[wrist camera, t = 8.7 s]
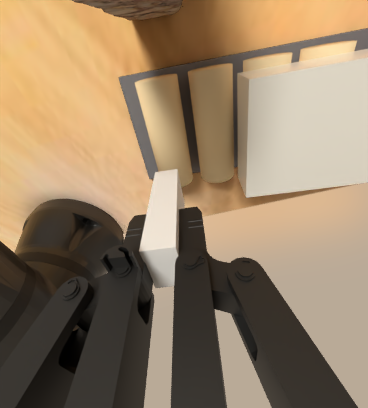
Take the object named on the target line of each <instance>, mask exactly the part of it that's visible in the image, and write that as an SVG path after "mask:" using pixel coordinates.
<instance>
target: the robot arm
mask: <svg viewBox="0 0 368 408" xmlns="http://www.w3.org/2000/svg"><path fill="white" fill-rule="evenodd" d="M107 271H108V273H107ZM153 283H154V286H155V287H156V288H161V287H170V286H174V318H173V351H172V353H173V354H172V386H171V387H172V388H171V408H227V405H226V397H225V388H224V380H223V373H222V365H221V357H220V349H219V341H218V334H217V325H216V318H215V310H214V309H216V310H221V311H224V312H228V313H231V314H232V317H233V319H234V322H235V324H236V326H237V328H238V331H239V333H240V335H241V338H242V340H243V342H244V345H245V347H246V349H247V352H248V354H249V356H250V359H251V361H252V363H253V365H254V368H255V370H256V372H257V375H258V377H259V379H260V382H261V384H262V386H263V388H264V391H265V393H266V395H267V398H268V400H269V402H270V404H271V406H272V408H358V407H357V405H356V404H355V402H354V401H353V400H352V398H351V397H350V395H349V394H348V392H347V391H346V390H345V388H344V386H343V385H342V384H341V382H340V381H339V379H338V378H337V376H336V375H335V373H334V372H333V370H332V369H331V367H330V366H329V364H328V363H327V362H326V360H325V359H324V357H323V356H322V354H321V353H320V351H319V350H318V348H317V347H316V345H315V344H314V343H313V341H312V340H311V338H310V337H309V335H308V334H307V332H306V331H305V329H304V328H303V326H302V325H301V323H300V322H299V320H298V319H297V318H296V316H295V315H294V313H293V312H292V310H291V309H290V307H289V306H288V304H287V303H286V301H285V300H284V299H283V297H282V296H281V294H280V293H279V291H278V290H277V288H276V287H275V285H274V284H273V283H272V281H271V279H270V278H269V277H268V275H267V274H266V272H265V271H264V269H263V268H262V267H261V266H260V264H259V263H258V262H256V261H254V260H252V259H250V258H244V257H243V258H237V259H235V260H233V261H231V263H226V262H221V261H217V260H215V259H213V258H212V257H211V256H210V255H209V254H208V252H207V249H206V241H205V233H204V226H203V219H202V212H201V211H200V210H199V209H198V207H192V208H184V198H183V193H182V188H181V183H180V178H179V173H178V169H173V170H166V171H160V172H155V175H154V180H153V185H152V190H151V195H150V200H149V205H148V210H147V214H145V215H137V216H134V217H133V219H132V220H131V221H130V222H129V226H128V229H127V233H126V237H125V239H124V237H123V233H122V231H121V229H120V227H119V225H118V224H117V223H116V221H115V220H114V219H113V218H112V217H111V216H109V215H108V214H107V213H105V212H104V211H102V210H101V209H99V208H97V207H95V206H93V205H90V204H88V203H85V202H81V201H77V200H71V199H56V200H51V201H47V202H45V203H43V204H41V205H39V206H38V207H37V208H36V209H35V210H34V211H33V212H32V213H31V214H30V216H29V217H28V218H27V220H26V221H25V223H24V227H23V232H22V235H21V237H20V239H19V242H18V245H17V247H16V250H15V253H14V252H13V251H11V250H10V249H9V248H8V247H7V246H5V245H4V244H3V243H2V242H1V241H0V408H143V407H144V398H145V397H144V396H145V388H146V377H147V368H148V358H149V348H150V338H151V328H152V317H153V308H154V295H153V293H152V285H153Z"/></svg>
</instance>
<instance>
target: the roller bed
mask: <svg viewBox="0 0 368 408" xmlns="http://www.w3.org/2000/svg"><path fill="white" fill-rule="evenodd" d="M364 49H368V28H366V29H361V30H356V31H351V32H345V33H340V34H335V35H330V36H325V37H320V38H315V39H310V40H305V41H300V42H295V43H290V44H284V45H279V46H274V47H269V48H264V49H259V50H254V51H249V52H244V53H239V54H234V55H229V56H223V57H218V58H213V59H208V60H203V61H198V62H193V63H188V64H183V65H178V66H173V67H168V68H163V69H157V70H152V71H147V72H142V73H137V74H132V75H127V76H122V77H119V81H120V84H121V88H122V91H123V94H124V97H125V101H126V104H127V107H128V110H129V114H130V117H131V120H132V123H133V127H134V130H135V133H136V136H137V140H138V143H139V146H140V149H141V153H142V156H143V159H144V162H145V166H146V169H147V172H148V176H149V179H154V175H155V172H160V171H166V170H173V169H178V173H179V178H180V183H181V187H184V186H186V185H188V184H189V183H191V182H192V180H193V174H192V173H197V172H201V178H202V179H203V180H204V181H206V182H210V183H221V182H225V181H228V180H230V179H231V178H232V177H233V176H234V167H238V108H237V73H241V72H246V71H251V70H257V69H262V68H267V67H273V66H278V65H284V64H289V63H294V62H300V61H305V60H310V59H316V58H321V57H326V56H332V55H337V54H342V53H348V52H353V51H358V50H364Z"/></svg>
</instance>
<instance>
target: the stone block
mask: <svg viewBox="0 0 368 408" xmlns="http://www.w3.org/2000/svg"><path fill="white" fill-rule="evenodd" d="M72 1H74V2H77V3H83V4H86V5H89V6H94V7H96V8H101V9H102V10H103V11H104V12H106V13H108V14H112V15H114V16H117V17H123V18H126V19H127V20H134V19H137V20H144V19H148V18H156V17H160V16H163V15H172V14H174V13H176V12H178V11H179V9H180V7H181V5H182V1H183V0H72ZM182 7H183V6H182Z"/></svg>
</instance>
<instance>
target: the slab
mask: <svg viewBox="0 0 368 408" xmlns="http://www.w3.org/2000/svg"><path fill="white" fill-rule="evenodd" d="M237 108H238V179H239V181H240V184H241V186H242V189H243V192H244V194H245V197H246V198H248V197H257V196H265V195H273V194H281V193H289V192H297V191H305V190H313V189H321V188H329V187H338V186H346V185H354V184H362V183H368V49H364V50H358V51H353V52H348V53H342V54H337V55H332V56H326V57H321V58H316V59H310V60H305V61H300V62H294V63H289V64H284V65H278V66H273V67H267V68H262V69H257V70H251V71H246V72H241V73H237Z"/></svg>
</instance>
